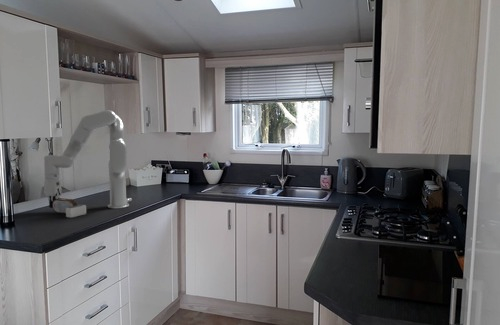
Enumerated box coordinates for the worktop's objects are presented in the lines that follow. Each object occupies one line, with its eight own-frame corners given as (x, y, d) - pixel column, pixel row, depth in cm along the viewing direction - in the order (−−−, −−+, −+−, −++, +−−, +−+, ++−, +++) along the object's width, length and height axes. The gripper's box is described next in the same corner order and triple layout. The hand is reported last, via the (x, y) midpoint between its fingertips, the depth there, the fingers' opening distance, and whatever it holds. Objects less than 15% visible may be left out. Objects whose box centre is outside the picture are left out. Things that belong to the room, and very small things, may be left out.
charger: (81, 212, 212) (81, 203, 211) (86, 213, 210) (85, 204, 209) (66, 216, 203) (65, 207, 202) (71, 217, 201) (70, 208, 200)
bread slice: (78, 213, 210) (77, 199, 209) (74, 214, 207) (73, 200, 206) (55, 211, 213) (55, 197, 212) (51, 212, 210) (51, 198, 209)
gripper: (66, 176, 212) (66, 207, 214) (49, 174, 219) (50, 204, 220) (54, 178, 205) (55, 210, 207) (37, 176, 212) (38, 207, 214)
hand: (52, 207), depth 214 cm, fingers closed
